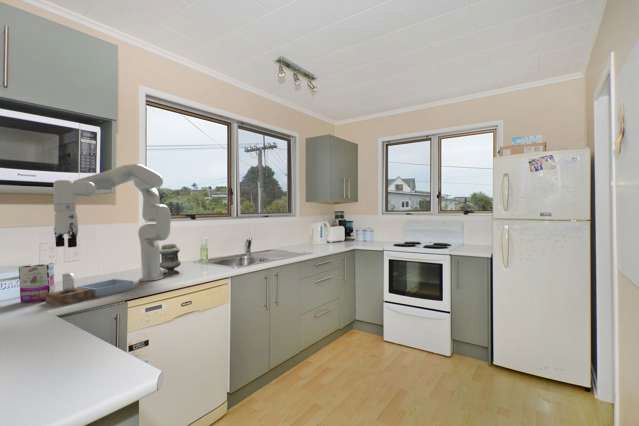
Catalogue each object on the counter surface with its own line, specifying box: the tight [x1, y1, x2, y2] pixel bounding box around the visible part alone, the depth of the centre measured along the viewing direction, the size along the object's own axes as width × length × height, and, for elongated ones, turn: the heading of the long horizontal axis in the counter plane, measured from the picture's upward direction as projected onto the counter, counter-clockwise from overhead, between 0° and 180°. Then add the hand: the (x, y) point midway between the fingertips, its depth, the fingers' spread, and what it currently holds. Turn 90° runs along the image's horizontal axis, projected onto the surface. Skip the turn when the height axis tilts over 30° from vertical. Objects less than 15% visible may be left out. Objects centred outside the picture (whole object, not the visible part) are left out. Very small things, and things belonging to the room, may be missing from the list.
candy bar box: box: [18, 262, 56, 303], centre depth 145 cm, size 11×5×16 cm, turn 105°
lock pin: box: [61, 272, 75, 294], centre depth 143 cm, size 4×4×12 cm
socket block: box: [45, 286, 93, 307], centre depth 143 cm, size 12×12×4 cm
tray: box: [76, 278, 135, 299], centre depth 157 cm, size 18×16×4 cm
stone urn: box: [160, 243, 182, 276], centre depth 201 cm, size 12×12×18 cm
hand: (66, 246), depth 142 cm, fingers open, 9 cm apart
